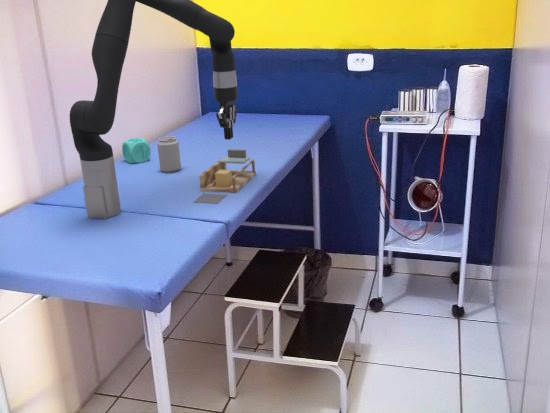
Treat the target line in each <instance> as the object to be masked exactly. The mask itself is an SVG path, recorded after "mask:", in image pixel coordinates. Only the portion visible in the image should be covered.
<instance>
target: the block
mask: <svg viewBox="0 0 550 413" xmlns="http://www.w3.org/2000/svg"><path fill="white" fill-rule="evenodd" d="M231 170H232V169H226V170H219V171H217V172H216V173H215V177H216V186H218V187H230V186H232V173H231Z"/></svg>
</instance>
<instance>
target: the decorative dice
mask: <svg viewBox="0 0 550 413" xmlns="http://www.w3.org/2000/svg"><path fill="white" fill-rule="evenodd" d="M121 147H122V148H121V152H122V155H123V158H124V160H125V162H127V163H129V164H142V163H145V162H147V161H148V160H149V159H150V158H151V152H152V151H151V147H150V144H149V142H148V140H147V139H146V138H143V137H136V138H135V137H133V138H129V139H125V141H124V142H123V143H122V145H121Z"/></svg>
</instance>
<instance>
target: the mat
mask: <svg viewBox="0 0 550 413" xmlns="http://www.w3.org/2000/svg"><path fill="white" fill-rule="evenodd" d="M227 196H228V195H227V194H219V193H217V194H216V193H201V195H199V196H198V197H197V198H196V199H195V200H194V201H192V203H195V204H197V203H198V204H209V205H210V204H211V205H218V204H219V203H220V202H221V201H222V200H224V199H225V198H226V197H227Z"/></svg>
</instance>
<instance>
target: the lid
mask: <svg viewBox="0 0 550 413" xmlns="http://www.w3.org/2000/svg"><path fill="white" fill-rule="evenodd" d="M222 158H223V159H222ZM222 158H221V160H220V159H219V160H220V161H219V160H218V161H219V163H226V164H237V165H238V164H239V165H240V164H241V165H243V164H245V165H246V163H247V162H248V161H250V160H252V159H251V156H247V149H238V148H237V149H235V148H234V149H233V148H228V149H227V155H225V156H224V157H222Z"/></svg>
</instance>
